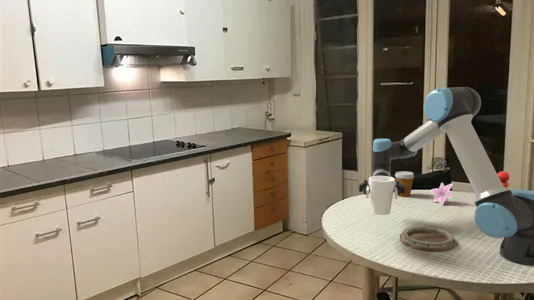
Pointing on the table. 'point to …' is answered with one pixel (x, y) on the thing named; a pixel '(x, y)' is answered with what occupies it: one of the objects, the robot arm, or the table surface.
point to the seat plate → (427, 239)
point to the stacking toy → (504, 178)
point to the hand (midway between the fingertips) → (381, 194)
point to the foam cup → (381, 194)
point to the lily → (441, 193)
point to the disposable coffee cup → (405, 181)
